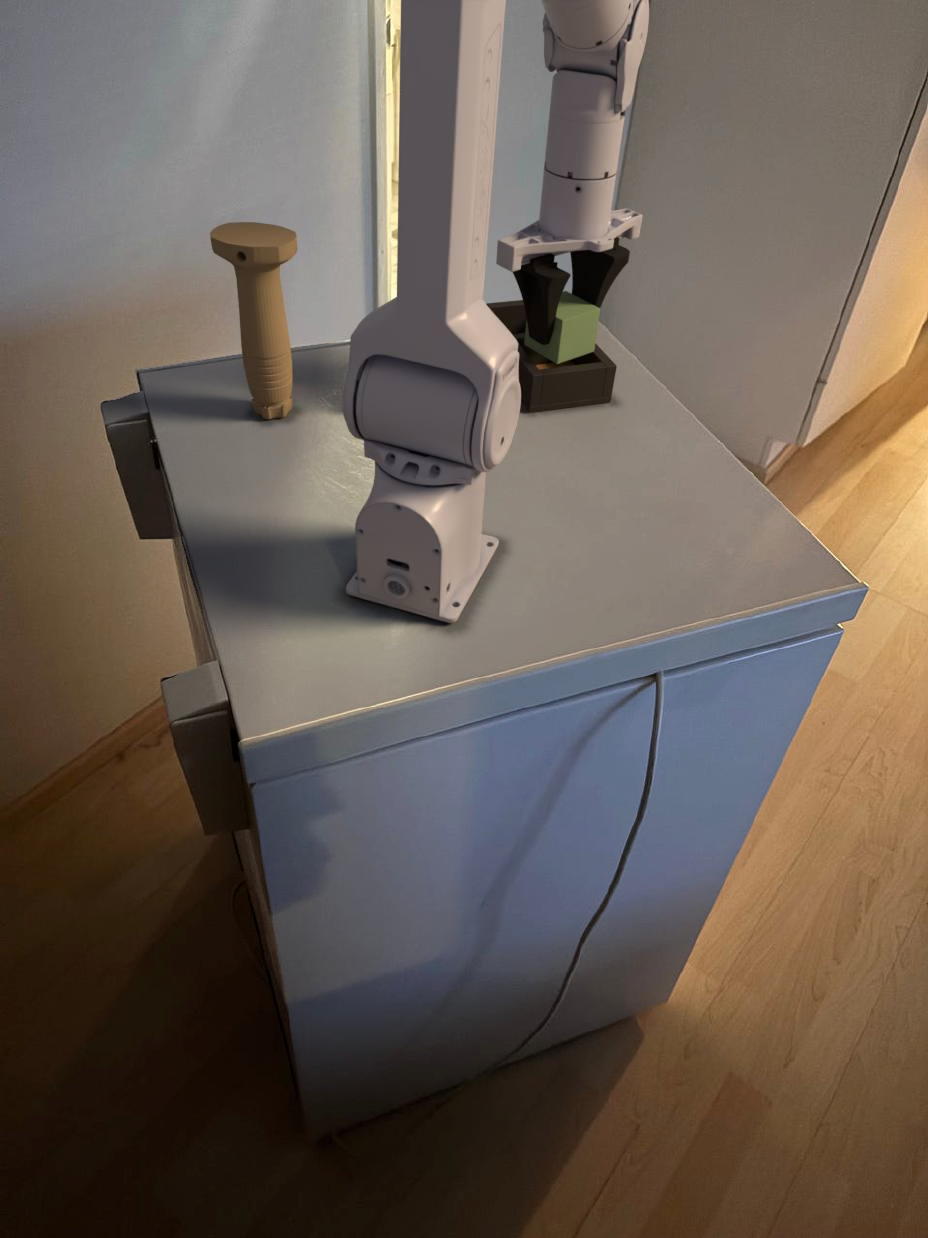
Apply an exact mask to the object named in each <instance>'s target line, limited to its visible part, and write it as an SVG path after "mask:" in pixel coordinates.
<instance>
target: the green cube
mask: <svg viewBox="0 0 928 1238" xmlns="http://www.w3.org/2000/svg"><path fill="white" fill-rule="evenodd" d="M600 315H601V307H600V308H598V307H596V306H594V305H592V304H590V303H588V302H587V301H585V300H583V299H581V298H579V297H577V296H575V295H573V294H572V292H569V291H567V290H563V292H562V295H561V298H560V301H559V304H558V308H557V312H556V319H555V325H554V330H553V334H552V337H551V340H550V343H549V344H547V345H542V344H540V343H538V342H537V341H535V340H533V339H531V338H530V337H529V331H528V324H527V320H526V330H525V341H524V345H526V346H527V347H529V348H531V349H532V350H534V351H536V352H537V353H539V354H541V355H543V356H544V357H546V358H548V359H549V360H551V361H553V362H554V363H556V364H559V363H562V362H565V361H568V360H571V359H574V358H577V357H580V356H582V355H585V354H588V353H591V352H594V349H595V343H596V342H597V341H596V340H597V335H598V328H599V322H600Z"/></svg>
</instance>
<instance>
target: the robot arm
mask: <svg viewBox="0 0 928 1238" xmlns="http://www.w3.org/2000/svg"><path fill="white" fill-rule="evenodd" d="M540 1H541V4H542V6H543V9H544V15H543V19H542V32H543V59H544V67H545V68H546V69H547V70H548V72H550V73H553V72H555V71H556V73H554V75H552V83H551V90H550V91H551V93H550V103H549V111H548V112H549V113H548V124H547V134H546V144H545V155H544V164H543V165H544V166H543V176H542V185H541V194H540V195H541V196H540V206H539V217H538V220H536V221H535V222H532V223H531V224H529V225H527V226H526V227H524V228H522V229H520V230H519V231H517V232H515V233H513V234H511V235H509V236H506V237H503V238H500V239H497V244H496V245H497V247H496V260H495V261H496V262H495V263H496V265H498V266H500V267H501V268H503V269H505V270H507V271H509V272H510V273H512V274H513V277H514V279H515V281H516V283H517V286H518V289H519V292H520V295H521V298H522V299H521V300H523V303H524V307H525V312H526V318H527V324H528V331H529V337H530V338H531V339H533V340H535V341H537V342H538V343H540V344H542V345H547V344H549V343H550V340H551V337H552V334H553V330H554V325H555V319H556V312H557V308H558V304H559V301H560V298H561V295H562V292H563V291H565V288H566V286H567V283H568V282H569V279H570V278H572V279H571V282H572V283H571V294H573V295H575V296H577V297H579V298H581V299H583V300H585V301H587V302H588V303H590V304H592V305H594V306H596V307H598V308H600V309H601V307H602V305H603V303H604V300H605V298H606V297H607V294H608V292H609V290H610V288H611V287H612V285H613V283H614V282H615V280H616V279H617V277H618V276H619V274H621V272H622V271H623V269H624V268H625V267H626V266H627V264H628V263H629V261H630V254H631V251H630V249H628V248H627V247H624V246H623V245H620V240H621V239H624V238H626V239H628V240H637V239H639V238H640V235H641V230H642V229H641V228H642V222H643V216H644V215H643V214H642V213H639V212H637V211H634V210H632V209H630V208H627V207H626V208H621V209H614V210H612V205H613V198H614V192H615V185H616V179H617V172H618V165H619V158H620V152H621V145H622V138H623V133H624V125H625V118H626V113H627V108H628V107H629V106H630V105H631V104H632V101H633V96H634V94H635V88H636V87H635V86H636V83H637V77H638V76H637V75H638V72H639V68H640V64H641V62H642V58H643V56H644V52H645V48H646V43H647V37H648V32H649V24H650V23H649V22H650V3H649V0H540ZM506 5H507V0H400V38H399V39H400V41H399V43H400V44H399V45H400V46H399V51H400V52H399V105H398V107H399V108H398V109H399V111H398V113H399V115H398V116H399V117H398V174H397V175H398V176H397V177H398V178H397V179H398V183H397V184H398V186H397V191H398V192H397V250H396V252H397V254H396V255H397V256H396V257H397V258H396V259H397V260H396V297H394V298H392V299H391V300H389V301H387V302H385V303H384V304H382V305H381V306H379V307H377V308H375V309H373V310H372V311H370V312H369V313H368V314H367V315H366V316H365V317H363V318H362V319H361V321H359V322H358V324H357V326H356V327H355V329H354V330H353V332H352V333H351V335H350V341H349V355H348V365H347V371H346V374H345V376H344V380H343V381H344V382H343V386H342V392H341V407H342V408H341V409H342V414H343V419H344V421H345V424H346V426H347V429H348V431H349V433H350V434H351V436H352V437H354V438H355V439H357V440H361V441H363V450H364V451H363V454H364V457H365V458H368V459H370V460H372V461H374V477H373V484H372V487H371V490H370V493H369V496H368V497H367V500H366V501H365V503H364V505H363V506H362V508H361V509H360V511H359V512H358V514H357V517H356V519H355V525H354V526H355V527H354V535H355V536H354V537H355V554H356V555H355V557H356V571H355V572H354V574H353V575H352V577H351V579H350V580H349V581H348V582H347V584H346V586H345V592H346V594H347V595H348V596H351V597H355V598H359V599H361V600H366V601H370V602H372V603H376V604H380V605H383V606H387V607H390V608H395V609H398V610H401V611H405V612H409V613H412V614H416V615H420V616H423V617H426V618H430V619H434V620H437V621H440V622H443V623H448V624H454V623H456V622H457V621H458V620H459V618H460V617H461V615H462V613H463V612H464V609H465V607H466V605H467V603H468V602H469V600H470V597H471V596H472V594H473V592H474V591H475V589H476V586H477V585H478V584H479V581H480V579H481V578H482V576H483V574H484V572H485V570H487V567H488V565H489V563H490V561H492V558H493V556H494V554H495V553H496V551H497V549H498V547H499V541H500V540H499V539H498V538H497V537H495V536H491V535H488V534H484V533H483V524H484V523H483V522H484V509H485V508H484V507H485V493H486V479H487V473H489V472H491V471H492V470H493V469H494V468H495V467H497V466H498V465H500V464H501V463H502V462H503V461H504V459H505V457H506V456H507V453H508V452H509V450H510V447H511V445H512V442H513V439H514V436H515V433H516V431H517V426H518V422H519V418H520V417H519V416H520V412H521V411H520V410H521V405H522V402H521V387H520V383H519V353H518V342H517V340H516V339H515V337H514V336H513V335H512V334H511V333H510V331H509V330H508V329H507V328H506V327H505V326H504V324H503V323H502V322H501V321H500V320H499V319H498V318H497V317H496V315H495V314H494V313H493V312H492V311H491V310H490V309H489V307H488V306H487V305H486V304H487V303H486V301H485V300H484V292H485V280H486V279H485V278H486V266H487V255H488V254H487V252H488V239H489V226H490V213H491V212H490V211H491V202H492V201H491V200H492V186H493V173H494V162H495V161H494V160H495V150H496V149H495V148H496V146H495V145H496V136H497V135H496V134H497V121H498V110H499V109H498V108H499V96H500V82H501V70H502V57H503V43H504V29H505V17H506ZM568 253H569V254H570V263H571V273H569V272H568V271H566V270H564V269H562V268H559V267H558V261H555V258H556V257H557V256H561V255H565V254H568ZM571 275H572V277H571Z"/></svg>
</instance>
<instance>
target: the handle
mask: <svg viewBox="0 0 928 1238" xmlns="http://www.w3.org/2000/svg"><path fill="white" fill-rule="evenodd" d="M209 236H210V244H211V250H212V252H213V254H215V255H216V256H217V257H220V258H222V259H223V260H225V261H227V262H228V263H230V264H231V265H232V266H233V269H234V273H235V278H236V279H235V280H236V290H237V301H238V302H237V303H238V315H239V331H240V332H239V333H240V345H241V347H240V348H241V355H242V364H243V369H244V373H245V378H246V382H247V386H248V390H249V393H250V395H251V397H252V398H251V404H252V408H253V411H254V413H255V414H258V415H260V416H261V417H262V419H264V420H272V419H278V418H279V419H280V418H281V419H284V418H286V417H287V416H288V413H289V412H291V411H292V409H293V396H292V390H293V357H292V348H291V340H290V333H289V328H288V321H287V315H286V310H285V303H284V297H283V289H282V282H281V281H282V280H281V266H282V265H283V264H286V263H287V262H289V261H290V260H292V259H293V258H294V257H295V255H296V254H297V252H298V238H297V233H296V231H294V230H292V229H290V228H287V227H284V226H280V225H277V224H272V223H271V224H270V223H263V222H256V221H239V222H237V221H235V222H225V223H222V224H220V225H218V226H216V227H214V228H213V229H212V230H211V231H210V233H209Z"/></svg>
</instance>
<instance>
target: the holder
mask: <svg viewBox="0 0 928 1238" xmlns="http://www.w3.org/2000/svg"><path fill="white" fill-rule="evenodd" d="M485 304H486V305H487V306H488V307H489V309H490V310H491V311H492V312H493V313H494V314H495V315H496V317H497V318H498V319H499V320H500V321H501V322H502V323H503V324H504V326H505V327H506V328H507V329H508V330H509V331H510V333H511V334H512V335H513V336H514V337H515V339H516V340H517V342H518V353H519V383H520V387H521V405H523V406H524V408H525V409H526V411H527V412H528V413H530V414H531V413H538V412H545V411H546V412H547V411H552V410H561V409H569V408H577V407H584V406H592V405H599V404H607V403H611V401H612V396H613V390H614V385H615V380H616V379H615V378H616V374H617V368H618V366H617V364H616V363H615V362H614V361H613V360H612V359H611V358H610V357H609V356H608V355H607V353H606V352H605V351H604V350H603V349H602V348H601V347H600V346H599V345H598V344H597V343H596V342H595V349H594V352H591V353H588V354H585V355H582V356H580V357H577V358H574V359H571V360H568V361H565V362H562V363H559V364H556V363H554V362H553V361H551V360H549V359H548V358H546V357H544V356H543V355H541V354H539V353H537V352H536V351H534V350H532V349H531V348H529V347H527V346H526V345H524V341H525V330H526V320H527V318H526V312H525V307H524V303H523V299H519V300H508V301H497V302H496V301H495V302H487V303H485Z"/></svg>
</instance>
